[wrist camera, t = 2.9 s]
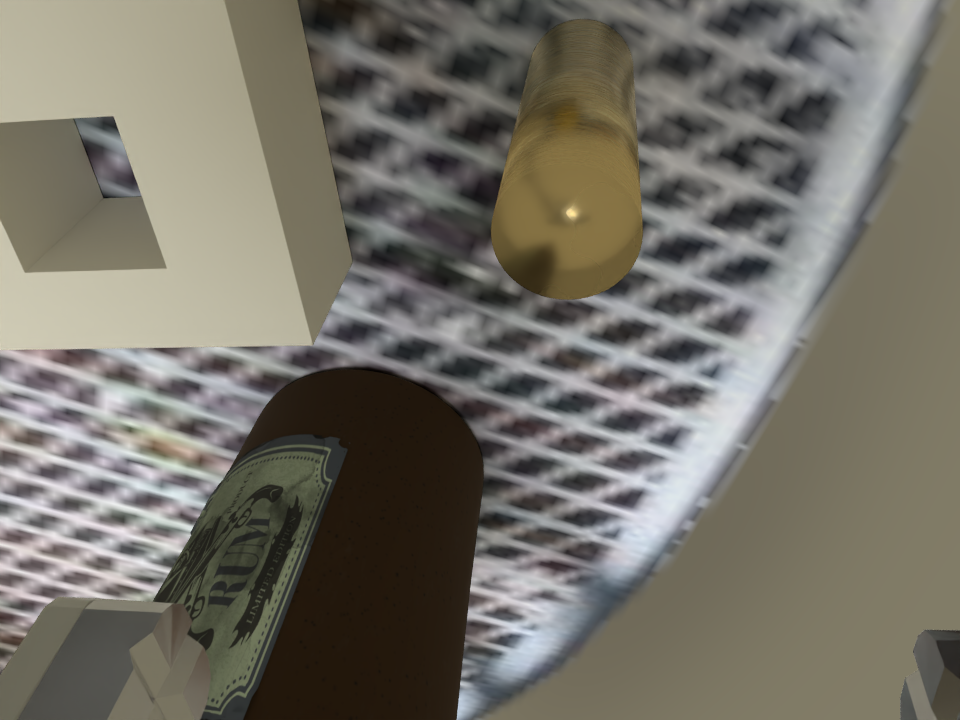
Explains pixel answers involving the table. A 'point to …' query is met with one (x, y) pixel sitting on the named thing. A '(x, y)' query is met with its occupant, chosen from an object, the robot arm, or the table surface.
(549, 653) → the table surface
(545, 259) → the brass pin
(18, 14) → the hole block
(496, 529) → the table surface
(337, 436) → the brown glass bottle
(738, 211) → the table surface
